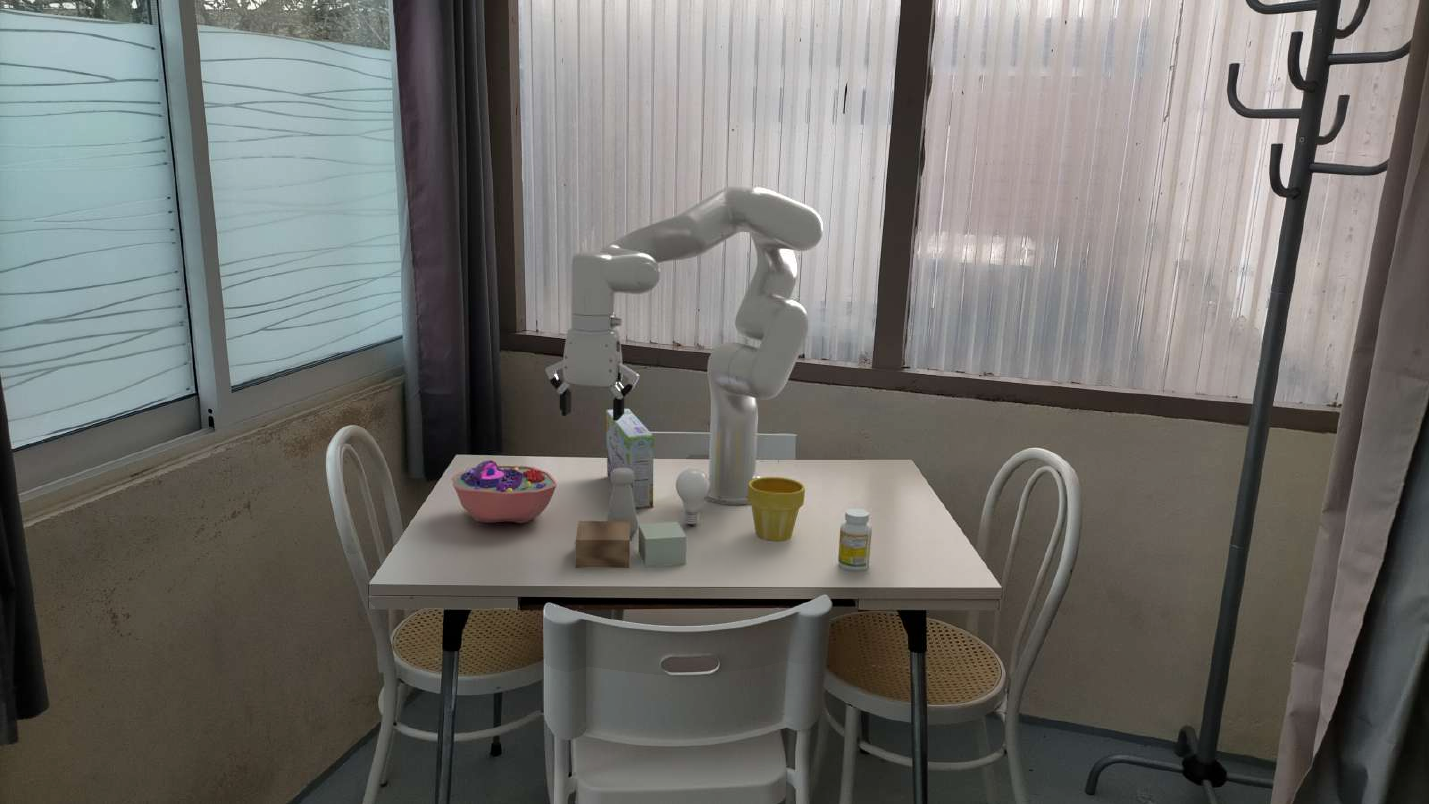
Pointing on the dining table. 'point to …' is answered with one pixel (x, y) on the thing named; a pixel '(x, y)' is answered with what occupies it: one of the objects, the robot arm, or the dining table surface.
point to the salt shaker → (623, 499)
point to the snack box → (631, 454)
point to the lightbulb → (692, 492)
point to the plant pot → (775, 506)
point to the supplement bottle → (855, 540)
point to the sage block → (662, 544)
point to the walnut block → (603, 544)
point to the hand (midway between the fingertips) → (591, 416)
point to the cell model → (504, 492)
